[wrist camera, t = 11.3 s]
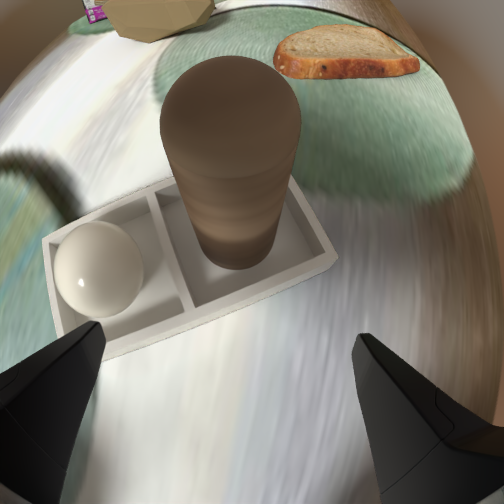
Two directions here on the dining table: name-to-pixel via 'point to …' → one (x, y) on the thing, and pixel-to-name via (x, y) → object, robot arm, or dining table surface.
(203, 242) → the brown domed cylinder
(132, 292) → the cream white ball
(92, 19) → the candy bar box
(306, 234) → the white divided tray
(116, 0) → the low-poly potato
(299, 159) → the dining table surface
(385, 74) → the slice of bread
